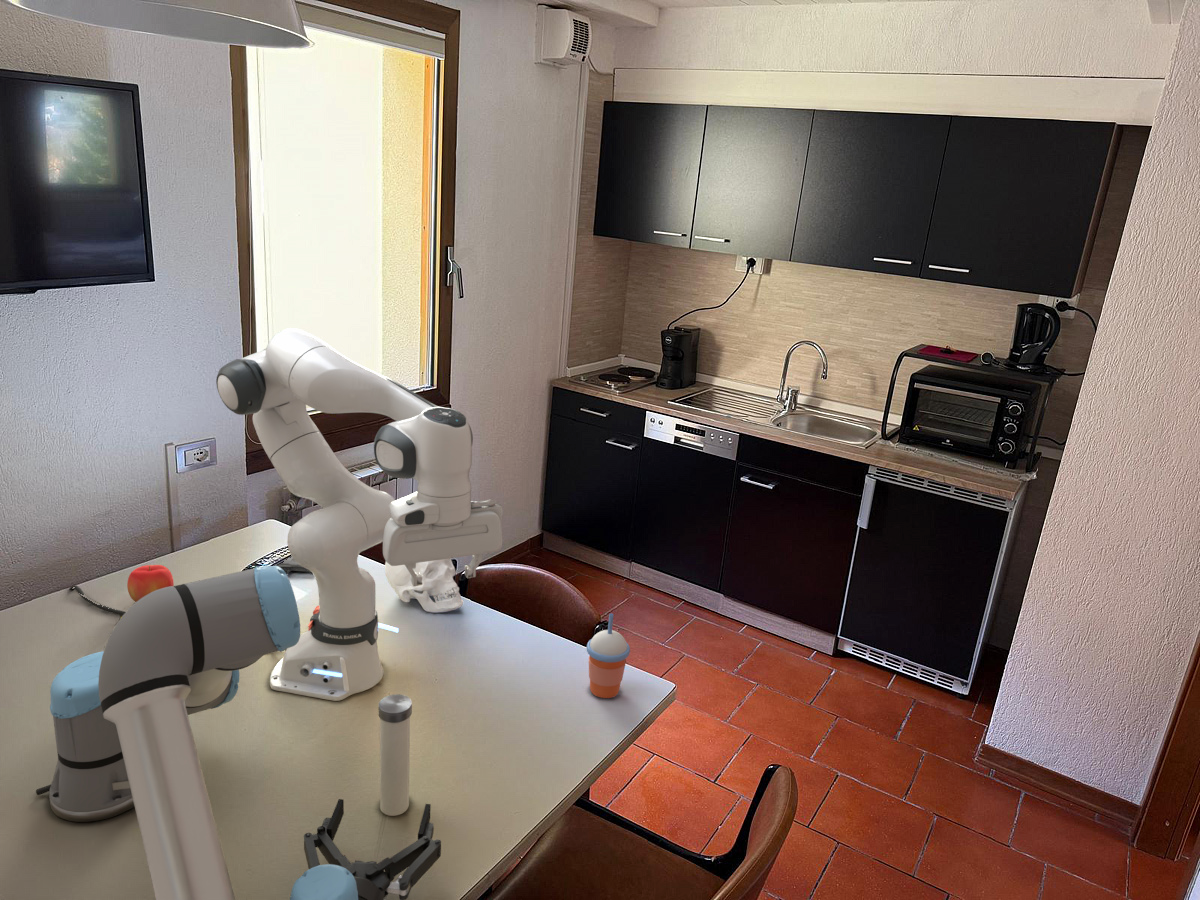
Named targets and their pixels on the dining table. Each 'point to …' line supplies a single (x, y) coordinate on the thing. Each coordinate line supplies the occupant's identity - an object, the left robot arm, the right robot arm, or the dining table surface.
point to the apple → (148, 580)
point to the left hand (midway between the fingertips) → (384, 808)
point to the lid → (395, 708)
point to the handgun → (291, 566)
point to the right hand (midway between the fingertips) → (443, 580)
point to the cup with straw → (607, 661)
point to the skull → (427, 585)
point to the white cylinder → (394, 767)
